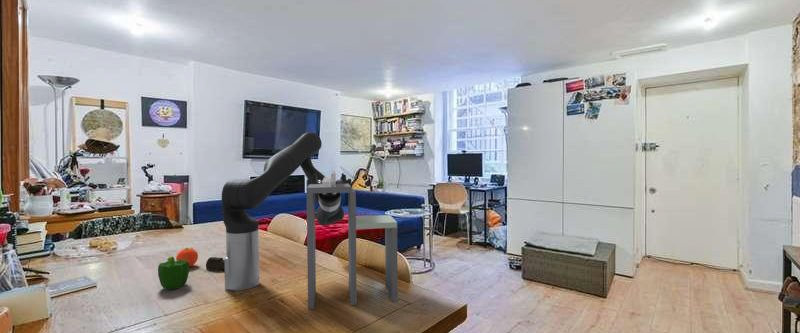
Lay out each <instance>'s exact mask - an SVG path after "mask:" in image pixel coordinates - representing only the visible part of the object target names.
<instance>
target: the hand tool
mask: <svg viewBox="0 0 800 333" xmlns="http://www.w3.org/2000/svg"><path fill="white" fill-rule="evenodd" d="M205 269H206V270H208V269H209V271H215V270H216V272H218V271H222V270H224V271H225V264H224V257H216V256H214V257H212V256H211V257H209V258H208V259H207V260H206V263H205Z"/></svg>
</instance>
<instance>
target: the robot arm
mask: <svg viewBox="0 0 800 333" xmlns="http://www.w3.org/2000/svg"><path fill="white" fill-rule="evenodd" d="M322 145H323V144H322V139H321V137H320V136H319V135H318V134H317V133H315V132H311V131H307V132H305V133H303V134H302V135H301V136H300V137H298V138H297V139H296V140H295V141H294V142H293V143H292V144H291V145H288V146H287V147H285V148H283V149H282V150H280V151H278V152H277V153H275V154H274V155H272V156H271V157H270V158H268V159H267V160H266V161H265V163H264V165H263V166H264V167H263V172H262V173H261V174H260V175H258V176H257V177H255V178H250V179H247V178H246V179H244V178H243V179H242V178H240V179H238V178H235V179H229V180H227V181H226V182H225V184H224V185H223V187H222V190H221V209H222V210H221V211H222V222H223V224H224V226H225V240H226V244H225V246H226V247H225V248H226V257H224V258H223V260H224V264H225V270H224V290H231V291H244V290H248V289H249V290H250V289H252V288H255V287H257V286H259V284H260V249H259V248H260V246H259V245H260V244H259V242H260V238H259V234H260V233H259V221H258V220H257V219H256V218H253V217H252V216H250V215H249V214H248V213H247V211H246V210H252V209H256V208H258V207H259V206H260V205H262V203H263V202H264V201H265V200H266V199H267V198H268V197H269V196H270V194H271V193H272V192H273V191H274V190H275V189H276V188H277V187H279V186H280V185H281V184H282V183H283V182H284V181H285V180H286V179H288V178H289V177H290V176H291V175H292V174H293V173H294V172H296V170H298V169H299V167H300V168H301V170H302V171H303V173H304V175H305V176H306V178H307V180H306V188H307V187H308V185H309V184H322V181H323V178H327V176H325V175H324V174H323V173H322V172H320V171H319V170H318V169H317V168H315V166H314V165H313V162H312V157H313V156H314V155H315V154H317V153H318V152H319V151H320V150H321V148H322ZM340 177H341V179H336V184H349V185H350V186H351V188H352V179H351V178H347V174H344V173H343V172H342V173H341V176H340ZM341 195H342V193H315V203H318V204H319V206H318V207H317V209H316V211H315V220H316V221H317V223H318V224H319V225H321V226H323V227H325V226H329V225H331V224H335V223H338V222H341V221H342V220H343V219H344V217H345V211H344V209H343V207H342V205H341V202H342V201H341V200H342V196H341Z"/></svg>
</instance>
